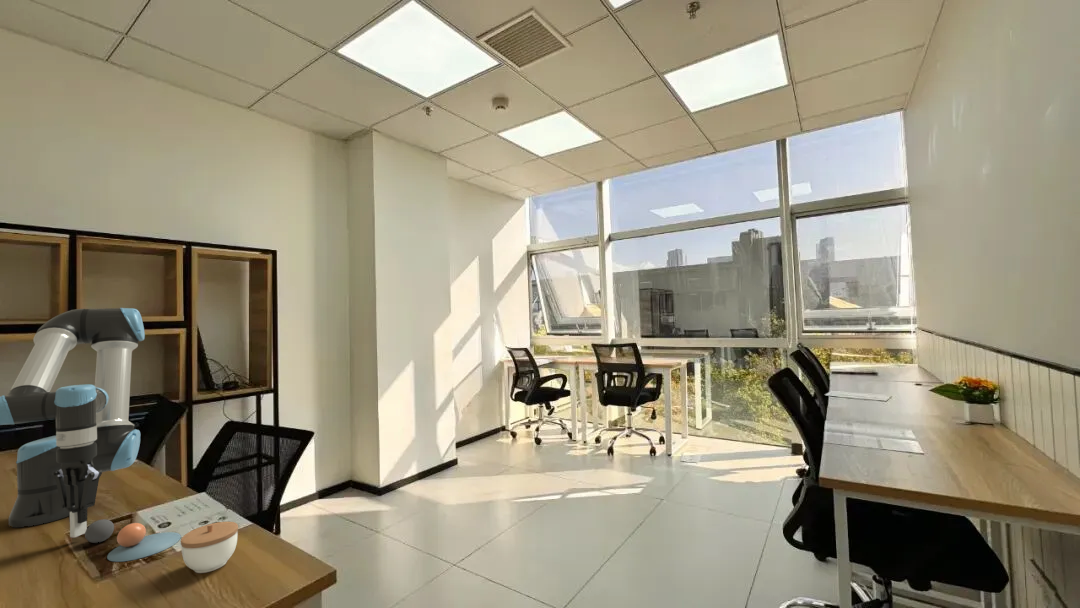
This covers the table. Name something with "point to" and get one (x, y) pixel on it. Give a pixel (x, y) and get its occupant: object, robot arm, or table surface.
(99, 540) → the charcoal ball
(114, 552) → the slate mark
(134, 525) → the terracotta ball
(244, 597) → the table surface
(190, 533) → the lidded jar
